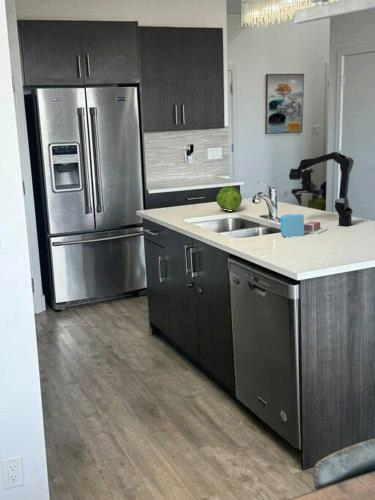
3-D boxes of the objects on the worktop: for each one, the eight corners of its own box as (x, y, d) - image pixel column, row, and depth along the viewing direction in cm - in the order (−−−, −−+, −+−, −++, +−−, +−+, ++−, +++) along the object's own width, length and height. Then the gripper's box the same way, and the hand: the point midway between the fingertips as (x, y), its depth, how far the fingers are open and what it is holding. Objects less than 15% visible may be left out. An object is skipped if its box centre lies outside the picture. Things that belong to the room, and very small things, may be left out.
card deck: (320, 228, 345) (320, 222, 344) (312, 231, 338) (312, 224, 337) (311, 228, 348) (310, 221, 348) (303, 231, 342) (303, 224, 341)
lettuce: (233, 207, 447) (232, 182, 443) (246, 211, 425) (245, 185, 421) (211, 210, 441) (209, 185, 437) (223, 214, 420) (221, 188, 416)
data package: (300, 234, 337) (300, 213, 334) (304, 235, 333) (303, 214, 330) (281, 236, 334) (280, 215, 332) (284, 238, 330) (283, 216, 327)
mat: (327, 229, 343) (327, 228, 343) (317, 233, 334) (317, 232, 334) (306, 228, 352) (306, 227, 352) (295, 232, 343) (295, 231, 343)
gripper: (327, 178, 361) (327, 204, 364) (299, 178, 373) (300, 202, 376) (317, 180, 353) (318, 207, 356) (290, 180, 365) (291, 205, 368)
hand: (307, 205), depth 365 cm, fingers open, 9 cm apart
